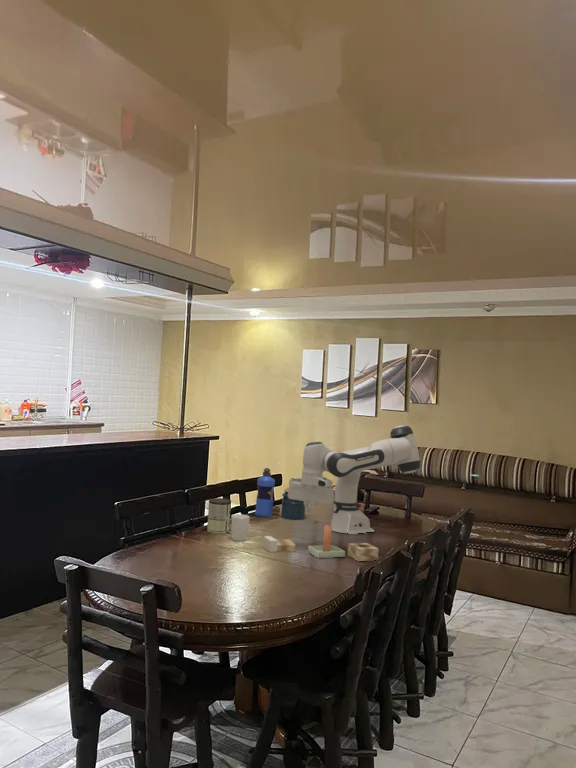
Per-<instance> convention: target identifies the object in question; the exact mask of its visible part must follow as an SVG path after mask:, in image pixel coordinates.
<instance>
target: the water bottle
mask: <svg viewBox="0 0 576 768" xmlns="http://www.w3.org/2000/svg"><path fill="white" fill-rule="evenodd" d="M271 475H272V473H271V469H270V468H269V467H265V468H264V469H263V472H262V476H261V477H258V478H257V482H256V485H257V494H256V500H255V515H256V516H257V517H261V518H262V517H264V518H267V517H268V518H270V517H272V516H273V506H274V505H273V504H274V489H275V485H276V483H275V482H276V479H274V478H273V477H271Z"/></svg>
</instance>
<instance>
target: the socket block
mask: <svg viewBox="0 0 576 768" xmlns="http://www.w3.org/2000/svg"><path fill="white" fill-rule="evenodd" d="M379 549H380V548H379V547H376V546H374V545H372V544H370V543H368V542H353V543H352V542H351V543H347V554H346V556H347V555H349V556H350V557H352V558H354V559H355V561H356V560H357V561H367V562H375V561H374V560H376V559H377V558H378V559H379ZM349 556H348V557H349ZM350 557H349V558H350ZM352 558H351V559H352ZM354 559H353V560H354ZM357 561H356V562H357Z"/></svg>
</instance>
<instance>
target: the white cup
mask: <svg viewBox="0 0 576 768" xmlns="http://www.w3.org/2000/svg"><path fill="white" fill-rule="evenodd" d="M250 518H251V516H249V515H247V514H241V513H240V514H239V513H238V514H232V515H231V529H230V531H231V535H230V537H231V540H232V541H239V542H243V541H247V539H248V534H249V527H250Z"/></svg>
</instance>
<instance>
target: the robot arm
mask: <svg viewBox="0 0 576 768" xmlns="http://www.w3.org/2000/svg"><path fill="white" fill-rule="evenodd" d="M395 464H397V465H396V466H397V468H398V469H399V471H400V472H401V473H404V474H414V473H415V472H417V471H418V470H419V469H420V468H421V465H422V464H421V460H420V454H419V447H418V446H417V442H416V438H415V436H414V432H413V429H412V428H411V426H409V425H402V424H401V425H397V426H395V427H394V428H392V429H391V430H390V438H385V439H380V440H377V441H375V442H372V443H371V444H370V445H369V446H364V447H358V448H355V449H354V448H353V449H350V450H345V451H344V450H343V451H340V452H339V451H336V450H334V449H332V448H330V447H328V446H327V445H325V443H323V441H322V442H321V441H310V442H308V443H307V444H305V446H304V449H303V456H302V465H303V466H302V470H301V477H292V478H290V479H289V481H288V485H289V486H288V488H289V490H288V498H289V499H293V500H300V501H304V506H305V513H308V514H309V513H310V514H313V513H314V509H315V508H316V506H317V504H320V505H328V506H331V505H332V517H331V520H330V521H331V522H330V523H329V525H331V526H332V532H337V533H342V534H347V533H348V535H359V534H358V533H364V534H367V533H366V532H374V533H375V529H373V528H372V527H371V522H370V519H369V518H368V516H366V515H365V514H364V513H363V511H361V510H360V509H363V508H364V504H363V503H360V502H359V503H358V488H359V483H360V478H361V473H362V472H363V471H368V470H372V469H373V470H374V469H377V468H382V467H387V466H388V467H389V466H392V465H395ZM324 472H328V473H329V474H332V476H334V477H337V480H336V482H335V487H334V488H333V487H332V486H333V485H334V482H333V480H331V479H329V478H327V477H325V476H323V473H324ZM309 503H311V505H312V506H311V507H309Z"/></svg>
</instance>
